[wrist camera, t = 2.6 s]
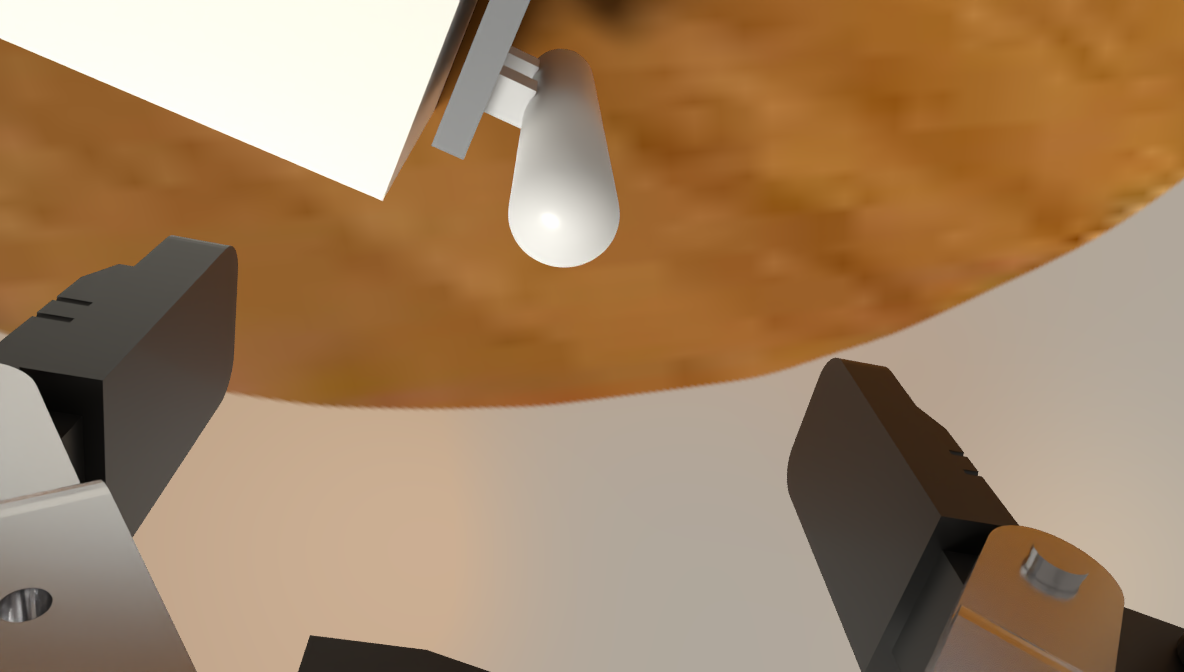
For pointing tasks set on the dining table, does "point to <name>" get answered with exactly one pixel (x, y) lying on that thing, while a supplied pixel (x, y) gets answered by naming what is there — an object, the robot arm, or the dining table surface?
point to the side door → (539, 139)
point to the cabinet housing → (268, 69)
